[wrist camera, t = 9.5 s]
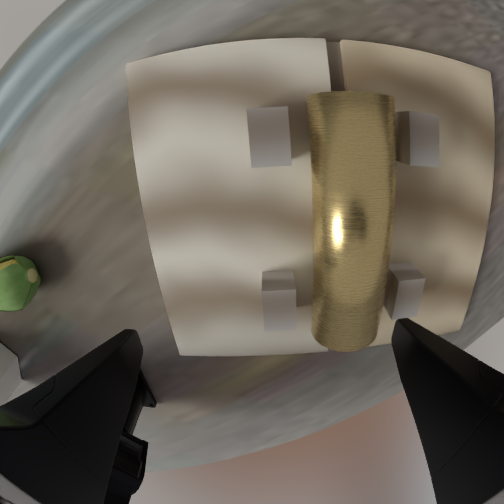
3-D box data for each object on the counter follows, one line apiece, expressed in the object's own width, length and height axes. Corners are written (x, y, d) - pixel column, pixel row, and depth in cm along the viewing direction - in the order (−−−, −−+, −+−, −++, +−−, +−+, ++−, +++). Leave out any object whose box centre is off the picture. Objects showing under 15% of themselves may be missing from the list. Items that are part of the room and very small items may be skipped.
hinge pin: (365, 306, 20) (387, 345, 16) (306, 312, 20) (317, 356, 16) (373, 102, 14) (410, 96, 10) (300, 100, 15) (316, 89, 10)
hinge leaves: (454, 322, 22) (471, 346, 18) (183, 346, 24) (173, 376, 20) (481, 72, 13) (510, 69, 10) (133, 67, 15) (107, 57, 12)
